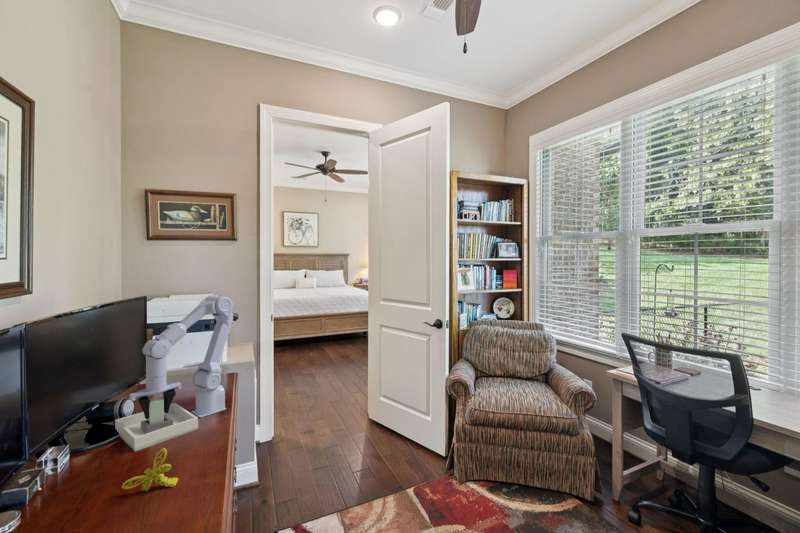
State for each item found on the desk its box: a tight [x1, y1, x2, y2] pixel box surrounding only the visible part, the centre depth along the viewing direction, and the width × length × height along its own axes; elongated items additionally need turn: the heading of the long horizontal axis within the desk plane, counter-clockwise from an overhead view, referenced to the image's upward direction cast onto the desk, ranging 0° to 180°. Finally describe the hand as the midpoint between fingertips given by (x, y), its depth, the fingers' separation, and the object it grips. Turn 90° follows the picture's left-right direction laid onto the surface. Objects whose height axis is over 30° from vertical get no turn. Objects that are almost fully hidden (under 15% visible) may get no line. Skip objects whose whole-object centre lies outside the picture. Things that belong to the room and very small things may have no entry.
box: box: [114, 402, 199, 452], centre depth 120 cm, size 18×20×4 cm
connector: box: [149, 397, 164, 426], centre depth 120 cm, size 4×4×8 cm
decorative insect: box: [121, 447, 179, 492], centre depth 90 cm, size 12×3×10 cm
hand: (156, 415), depth 120 cm, fingers closed on connector, 5 cm apart
